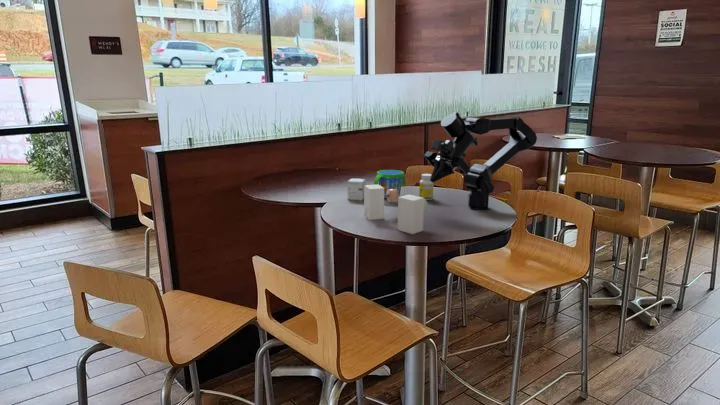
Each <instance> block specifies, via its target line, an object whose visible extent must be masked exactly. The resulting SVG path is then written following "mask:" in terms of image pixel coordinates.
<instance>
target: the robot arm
mask: <svg viewBox="0 0 720 405" xmlns="http://www.w3.org/2000/svg"><path fill="white" fill-rule="evenodd" d="M440 125H441V127H442V128H443V130H444V131H445V132H446V134H447V135H448V136H449V137H450V138H454V139H452V140H450V139H446V140H441V139H435V138H434V139H433V141H432V144H431V147H430V148H431V149H432V150H435V151H437V152H435V151H431V150H428V151H426V152H425V153H424V155H423V157H424V158H425V159H426V161H427V162H428V163H429V164H430V166H432V167H433V170H432V174H431V175H432V176H431V179H430V181H431V182H433V183H435V182H437V181H439V180H442V179H443V178H446V177H448V176H450V175H452V174H455V170H456V169H460V170H459V172H460V174H461V175H463V176H464V178H463V179H464V184H465V186H466V190H469V193H468V195H467V205H468V207H469V209H470V210H490V207H489V200H490V199H489V198H490V197H489V195H490V194H491V193H493V192H494V189H495V186H494V185H493V183H492V182H491V181H492V178H493V175H494V174H495V173H496V172H498V170H500V169H501V168H502V167H503V166H504V165H505V164H507V162H509V161H510V160H512V159H513V157H515V156H516V155H517V154H518V153H520V152H523V151H525V150H528V149H531V148H532V147H534V146H535V144H536V143H537V140H538V137H537V133H536V132H535V131H534V130H533V129H532V128H531V126H529V125H528V124H526V123H525V121H524V120H523V119H522V118H521V117H520V116H508V117H497V118H496V117H495V118H485V117H477V116H467V117H466V118H465V120H463V118H462V116H461V115H460V113H459V112H458V111H453V112H452V113H451V114H448V115H446V116H445V117H443V118H442V120H440ZM507 129H508V134H509V141H508V143H507V144H506V145H504V146H503V147H502V148H501V149H500V150H498V151H497V152H496V153H495V154H494V155H493V156H492V157H490V158H489V159H488V160H486V162H484V163H483V164H477V163H475V164H473V165H471V166H470V165H469V164H468V163H467V161H466V160H465V159H464V158H465V157H466V154H465V153H466V152H467V150H468V149H469V148H470V146H471V145H472V146H478V138H477V137H475V136H474V135H479V136H481V135H485V134H488V133H490V132H491V131H496V130H497V131H498V130H507Z"/></svg>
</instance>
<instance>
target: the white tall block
mask: <svg viewBox="0 0 720 405" xmlns="http://www.w3.org/2000/svg"><path fill="white" fill-rule="evenodd" d="M363 200H364V201H363V202H364V203H363V206H364V207H363V208H364V212H363V215H364V216H365V217H366V218H367V220H369V221H372V220H374V221H375V220H382V219H384V218H385V198H384V188H383V187H382V186H380V185H379V183H378V184H377V185H374V184H366V185H364V199H363Z"/></svg>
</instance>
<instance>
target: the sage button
mask: <svg viewBox="0 0 720 405" xmlns="http://www.w3.org/2000/svg"><path fill="white" fill-rule="evenodd" d="M428 209H429V205H428V200H425V199H424V212H423V213H425V212H427V210H428Z"/></svg>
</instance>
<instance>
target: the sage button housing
mask: <svg viewBox="0 0 720 405" xmlns="http://www.w3.org/2000/svg"><path fill="white" fill-rule="evenodd" d="M424 213H425V212H424V198H423V197H419V196H418V195H413V194H405V195H402V196H399V197H398V201H397V230H398V231H400V232H404V233H407V234H410V235H414V234H416V233H417V234H418V233H420V232H423V231H424Z"/></svg>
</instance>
